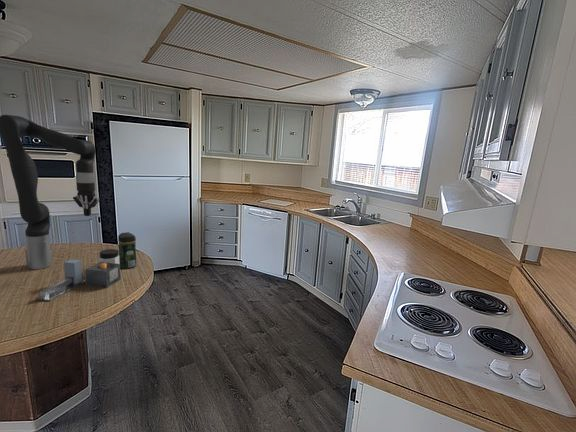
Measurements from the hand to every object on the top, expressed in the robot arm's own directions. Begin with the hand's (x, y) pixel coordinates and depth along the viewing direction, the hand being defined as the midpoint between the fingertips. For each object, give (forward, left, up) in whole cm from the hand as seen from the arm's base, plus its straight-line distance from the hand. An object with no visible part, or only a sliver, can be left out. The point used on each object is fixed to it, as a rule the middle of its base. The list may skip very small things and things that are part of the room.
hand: (87, 215), depth 150 cm
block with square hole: (+16, -12, -29) cm, 35 cm away
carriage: (+5, -17, -29) cm, 34 cm away
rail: (+5, -23, -29) cm, 37 cm away
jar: (+12, -2, -29) cm, 32 cm away
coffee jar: (+14, +10, -29) cm, 34 cm away
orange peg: (+16, -12, -28) cm, 35 cm away
